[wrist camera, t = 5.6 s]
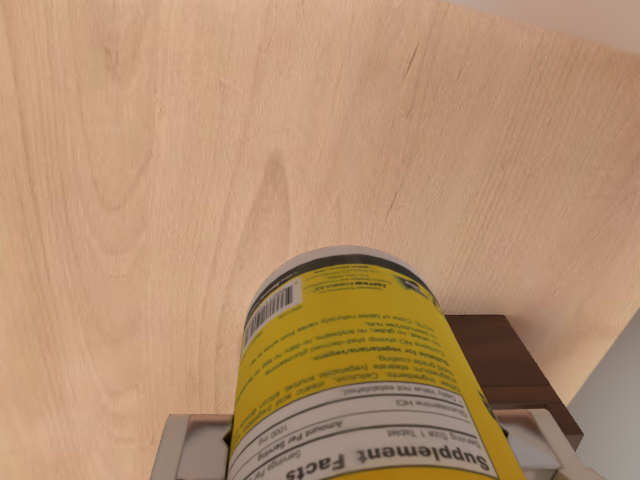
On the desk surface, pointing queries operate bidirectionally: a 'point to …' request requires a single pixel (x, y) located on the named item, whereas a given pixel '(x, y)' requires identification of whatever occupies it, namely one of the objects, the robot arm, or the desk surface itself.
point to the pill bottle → (358, 379)
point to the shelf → (508, 369)
